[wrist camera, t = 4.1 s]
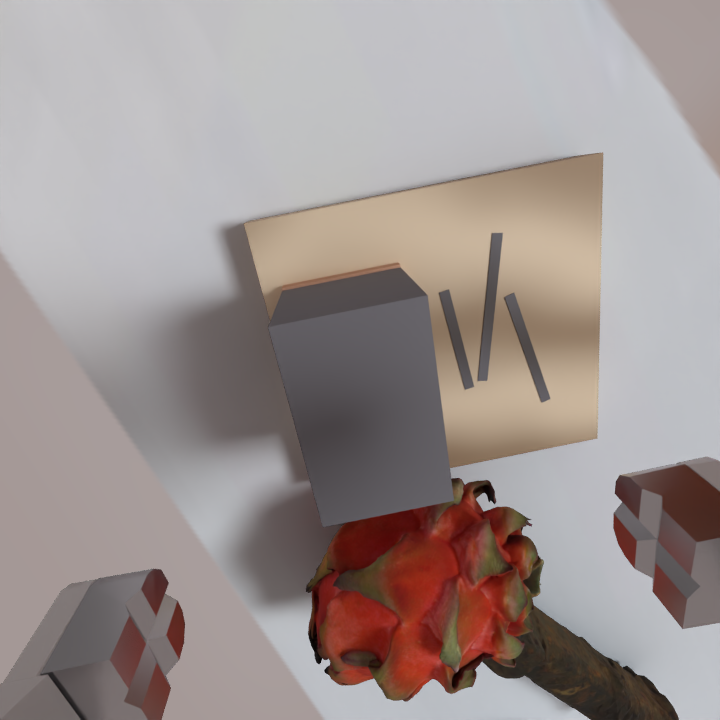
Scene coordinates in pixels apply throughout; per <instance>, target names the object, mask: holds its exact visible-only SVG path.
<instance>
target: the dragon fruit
mask: <svg viewBox="0 0 720 720" xmlns="http://www.w3.org/2000/svg"><path fill="white" fill-rule="evenodd" d="M451 481H452V489H453V496H454V501H450V502H445V503H440V504H436V505H431V506H426V507H421V508H416V509H411V510H406V511H401V512H396V513H391V514H386V515H381V516H376V517H371V518H366V519H361V520H356V521H351V522H347V523H345V524H344V525H343V526H342V527H341V528H340V529H339V530H338V532H337V533H336V535H335V536H334V538H333V539H332V541H331V543H330V545H329V547H328V551H327V553H326V554H325V556H324V558H323V560H322V563H321V564H320V566H319V567H318V568H317V569H316V570H317V571H316V574H315V577H314V578H312V579H311V581H310V582H309V583H308V584H307V586H306V592H308V593H309V592H311V591H312V614H311V619H310V622H309V631H308V635H309V640H310V643H311V646H312V648H313V650H314V652H315V659H316V662H317V663H318V664H320V663H321V660H322V658H323V659H324V660H327V659H328V658H329V660H330V662H331V663H330V666H328V667H327V668H326V669H325V673H326V674H328V675H329V676H330V677H331V679H332V680H334V681H335V682H336V683H338V684H339V685H356V684H359V683H361V682H364V681H367V680H370V679H375V680H376V682H377V684H378V685H379V687H380V688H381V689H382V690H383V692H384V694H385V696H386V698H387V699H391V700H394V701H397V700H404V701H409V700H410V699H411V698H413V696H414V695H415V694H417V693H418V692H419V691H420V689H421V688H422V686H423V685H425V684H426V683H427V682H429V681H430V680H431V679H435V680H437V681H438V682H440V684H441V685H442V686H443V687H444V688H445V690H446V692H448V693H450V694H452V693H456V692H457V691H459V690H461V689H464V688H467V687H472V686H473V685H474V682H475V679H476V671H475V669H476V668H477V666H479V665H480V663H481V662H482V661H483V659H490V658H492V659H493V660H494V661H496V662H497V663H499V664H501V665H503V666H505V667H513V668H514V667H515V665H516V660H515V658H516V657H517V656H519V655H520V654H521V653H522V650H523V648H524V645H525V642H524V641H522V642H521V641H520V640H518V639H517V638H516V637H514V636H520V635H523V634H526V633H529V632H533V629H534V628H533V624H532V621H531V619H530V617H529V616H528V614H529V613H530V612H531V611H533V610H534V605H533V600H532V597H535V596H538V595H539V594H540V587H539V585H541V584H540V582H539V581H540V574H541V571H542V566H543V564H544V561H543V560H542V559H540V557H539V556H538V553H537V550H536V547H535V545H534V543H533V542H532V541H531V539H530V538H528V537H526V536H523V535H522V529H523V527H524V526H526V525H529V526H532V524H530V523H529V522H528V521H527V520H531V519H528V518H526V517H525V516H523V515H522V514H520V513H518V512H517V511H515V510H514V509H512V508H510V507H496V508H493V509H491V510H487V511H484V512H483V510H482V508H481V507H480V505H479V504H478V502H477V501H476V498H477V497H478V496H480V495H481V494H482V493H484V492H485V493H486V494H487V496H488V500H489V502H490V501H492V502H493V503H494V504H495V503H496V499H495V491H494V489H493V487H492V485H491V483H490V482H489V481H488V480H485V481H475V482H469V483H467V484H466V485H464V483H463V481H462V479H460V478H452V479H451Z"/></svg>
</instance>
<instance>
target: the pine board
mask: <svg viewBox="0 0 720 720" xmlns="http://www.w3.org/2000/svg"><path fill="white" fill-rule="evenodd" d="M602 187H603V153H595V154H587V155H579V156H574V157H569V158H564V159H559V160H554V161H549V162H544V163H539V164H534V165H529V166H524V167H519V168H514V169H509V170H504V171H499V172H494V173H489V174H483V175H478V176H473V177H468V178H463V179H458V180H453V181H448V182H443V183H438V184H433V185H428V186H423V187H418V188H413V189H408V190H403V191H398V192H393V193H388V194H383V195H377V196H372V197H367V198H362V199H357V200H352V201H347V202H342V203H337V204H332V205H327V206H322V207H317V208H312V209H307V210H302V211H297V212H292V213H287V214H282V215H277V216H271V217H266V218H261V219H256V220H251V221H249V222H246V223H244V226H245V230H246V234H247V237H248V241H249V245H250V249H251V252H252V256H253V260H254V263H255V267H256V271H257V274H258V278H259V282H260V285H261V289H262V293H263V297H264V300H265V304H266V308H267V311H268V315H269V319H270V321H271V318H272V315H273V313H274V310H275V308H276V305H277V303H278V300H279V298H280V295H281V292H282V286H283V285H287V284H292V283H297V282H302V281H307V280H312V279H317V278H322V277H327V276H332V275H337V274H342V273H347V272H352V271H357V270H362V269H367V268H372V267H377V266H382V265H387V264H393V263H399V264H400V267H401V268H402V269H403V270H404V271H405V272H406V273H407V274H408V275H409V276H410V278H411V279H412V280H413V281H414V282H415V283H416V284H417V285H418V286H419V287H420V288H421V289H422V290H423V291H424V292H425V293H426V294H427V295H428V302H429V309H430V317H431V325H432V333H433V341H434V348H435V356H436V364H437V372H438V380H439V387H440V395H441V403H442V411H443V419H444V426H445V434H446V442H447V450H448V457H449V465H450V468H453V467H458V466H463V465H468V464H473V463H477V462H482V461H487V460H492V459H497V458H502V457H507V456H512V455H517V454H522V453H527V452H532V451H537V450H542V449H547V448H552V447H557V446H562V445H567V444H572V443H577V442H582V441H587V440H591V439H596V438H597V428H598V380H599V332H600V284H601V236H602Z"/></svg>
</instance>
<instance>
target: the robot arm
mask: <svg viewBox="0 0 720 720" xmlns="http://www.w3.org/2000/svg"><path fill="white" fill-rule="evenodd" d="M615 494H616V495H617V496H618V498H619V499H620V500H621V501H622V503H621V505H620V506H619V507H618V508H617V510H616V511H615V512H614V531H615V535H616V538H617V541H618V544H619V546H620V548H621V550H622V551H623V553H624V555H625V557H626V558H627V559H628V561H629V562H630V563H631V564H632V566H633V567H634V568H635V569H636V570H638V571H640V572H642V573H644V574H646V575H648V576H650V577H652V578H653V592H654V594H655V595H656V596H657V597H658V599H659V600H660V601H661V602H662V604H663V605H664V606H665V607H666V609H667V610H668V611H669V612H670V614H671V615H672V616H673V617H674V619H675V620H676V621H677V622H678V624H679V625H680V626H681V627H682V629H685V628H691V627H697V626H703V625H709V624H715V623H720V462H719V461H718V460H716V459H713V458H710V457H703V458H698V459H693V460H689V461H684V462H679V463H677V464H671V465H666V466H661V467H656V468H652V469H647V470H642V471H637V472H633V473H628V474H623V475H620V476H619V477H618V479H617V481H616V486H615ZM167 586H168V581H167V579H166V577H165V576H164V574H163V572H162V570H159V569H150V570H144V571H138V572H132V573H127V574H121V575H115V576H110V577H104V578H99V579H97V580H90V581H85V582H79V583H73V584H70V585H68V586H67V587H66V588H64V589H63V590H62V591H61V592H60V593H59V595H58V597H57V598H56V600H55V601H54V603H53V605H52V606H51V608H50V609H49V611H48V613H47V614H46V616H45V617H44V619H43V620H42V622H41V623H40V625H39V627H38V628H37V630H36V631H35V633H34V635H33V636H32V638H31V639H30V641H29V642H28V644H27V646H26V647H25V649H24V650H23V652H22V653H21V655H20V657H19V658H18V660H17V661H16V663H15V665H14V666H13V668H12V669H11V671H10V672H9V674H8V676H7V677H6V679H5V680H4V682H3V683H1V684H0V720H161V719H162V716H163V713H164V709H165V706H166V703H167V699H168V696H169V693H170V689H171V687H170V685H169V682H168V680H167V677H166V675H167V674H168V672H169V671H170V670H171V669H172V668H173V666H174V665H175V664H176V663H177V662H178V660H179V658H180V655H181V651H182V647H183V644H184V629H185V622H184V617H183V612H182V609H181V607H180V605H179V603H178V601H177V600H176V599H173V598H172V597H170V596H168V595H167V594H165V592H166V589H167Z"/></svg>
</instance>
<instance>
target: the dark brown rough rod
mask: <svg viewBox="0 0 720 720" xmlns="http://www.w3.org/2000/svg"><path fill="white" fill-rule="evenodd" d="M528 616H529V617H530V619H531V621H532V624H533V628H534V629H533V632H529V633H526V634H523V635H520V636H514V637H516V638H517V639H518V640H520V641H521V642H522V641H524V642H525V645H524V648H523V650H522V653H521V654H520V655H519V656H517V657H516V658H515V660H516V665H515V667H514V668H513V667H505V666H503V665H501V664H499V663H497V662H496V661H494V660H493V659H492V658H490V659H483V661H482V662H483V663H485V664H486V665H487V666H488V667H489V668H490V669H491V670H492V671H493V672H494V673H496V674H497V675H499V676H501V677H504V678H520V677H523V676H524V675H525V676H527V677H528V678H530V679H531V680H532V681H533V682H534V683H535V684H537V685H538V686H540V687H542V688H543V689H545V690H546V691H548V692H549V693H551V694H553V695H554V696H555V697H557V698H558V699H560V700H562V701H563V702H565V703H566V704H568V705H569V706H570V707H572V708H575V709H576V710H578V711H579V712H580V713H582V714H583V715H585V716H586V717H588V718H589V719H591V720H679V718H678V715H677V713H676V711H675V709H674V707H673V706H672V704H671V703H670V702H669V700H668V699H667V698H666V697H665V696H664V695H662V694H661V693H659V691H658V690H657V689H656V687H655V686H654V684H653V683H652V682H651V681H650V680H649V679H647V678H646V677H645V676H641V675H637V674H635V673H634V672H633V671H632V670H631V669H630V668H629V667H628V666H625V667H623V668H622V667H621V666H620V665H619V664H618V663H616V662H615V661H613V660H612V659H610V658H607V657H605V656H604V655H602V654H601V653H599V652H598V651H597V650H595V649H594V648H593V647H592V646H591V645H590V644H589V643H588V642H587V641H586V640H585V639H584V638H583V637H578V636H576V635H575V634H573V633H572V632H571V631H569V630H568V629H567V628H566V627H564V626H561V625H560V624H559V623H557V622H556V621H555V620H553V619H552V618H550V617H549V616H547V615H546V614H545V613H543V612H542V611H541V610H539V609H538V608H537V607H535V606H534V610H533V611H531V612H530V613H529V614H528Z"/></svg>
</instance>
